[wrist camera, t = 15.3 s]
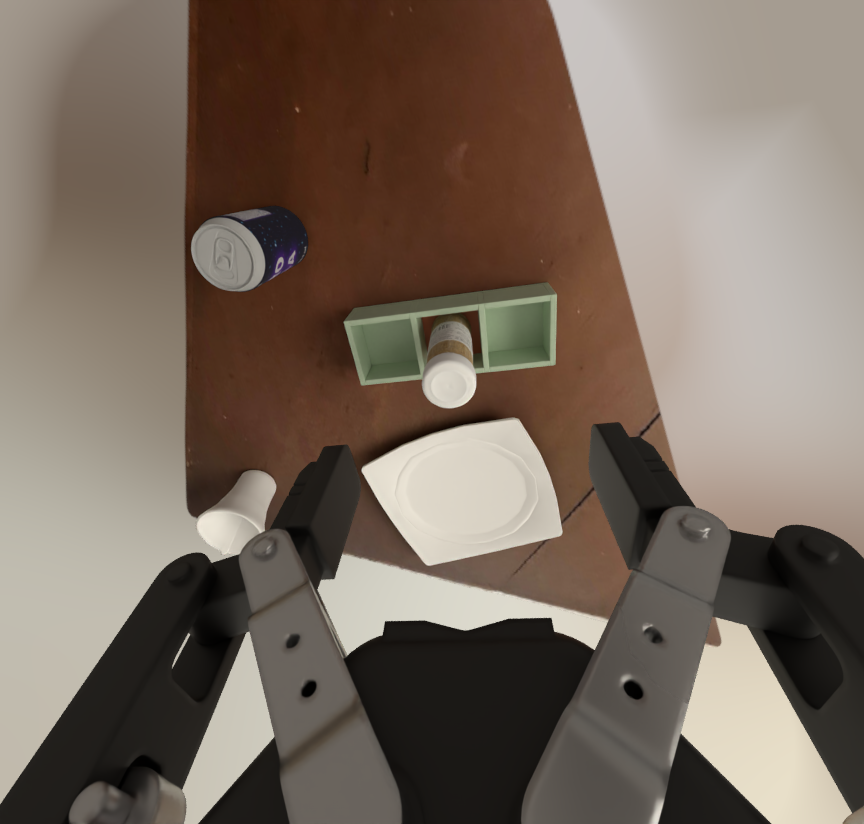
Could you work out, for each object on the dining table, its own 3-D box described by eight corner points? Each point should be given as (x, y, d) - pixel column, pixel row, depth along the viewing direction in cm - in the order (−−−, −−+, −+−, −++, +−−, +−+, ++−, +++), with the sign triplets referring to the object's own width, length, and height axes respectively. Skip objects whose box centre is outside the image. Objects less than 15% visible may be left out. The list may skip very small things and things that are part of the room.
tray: (547, 282, 40) (556, 293, 37) (547, 348, 44) (555, 365, 40) (353, 307, 43) (343, 321, 39) (369, 367, 47) (361, 385, 43)
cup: (225, 490, 60) (187, 543, 52) (241, 451, 56) (202, 501, 47) (279, 513, 62) (250, 567, 54) (298, 477, 58) (270, 529, 49)
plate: (424, 557, 66) (423, 571, 64) (353, 452, 55) (348, 464, 52) (568, 524, 59) (572, 538, 57) (521, 396, 48) (524, 407, 46)
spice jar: (438, 353, 45) (431, 415, 33) (426, 316, 42) (413, 370, 31) (476, 342, 44) (482, 403, 32) (466, 304, 41) (468, 355, 30)
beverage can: (254, 253, 41) (185, 281, 31) (259, 196, 38) (185, 205, 28) (306, 272, 42) (256, 305, 31) (315, 217, 39) (263, 234, 28)
